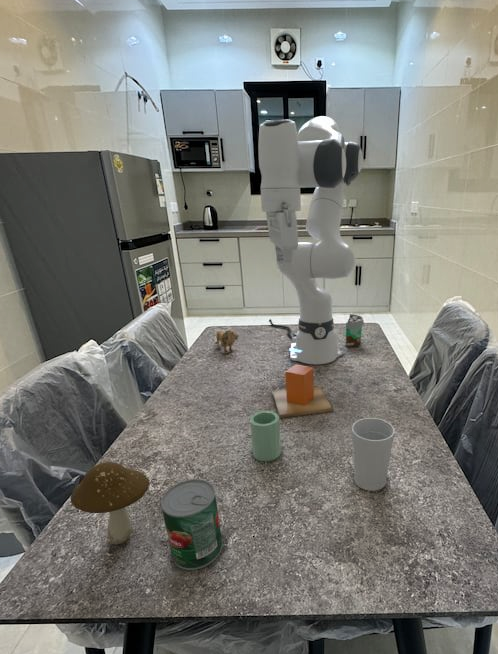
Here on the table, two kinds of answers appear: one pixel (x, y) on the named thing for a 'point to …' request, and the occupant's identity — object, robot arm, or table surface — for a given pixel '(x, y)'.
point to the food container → (354, 330)
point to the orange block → (299, 384)
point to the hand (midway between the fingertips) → (283, 265)
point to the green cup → (265, 435)
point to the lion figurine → (226, 339)
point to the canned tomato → (192, 523)
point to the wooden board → (292, 409)
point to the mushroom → (111, 496)
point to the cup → (371, 452)
